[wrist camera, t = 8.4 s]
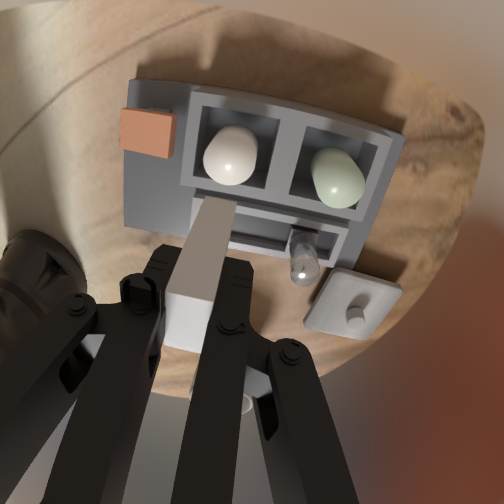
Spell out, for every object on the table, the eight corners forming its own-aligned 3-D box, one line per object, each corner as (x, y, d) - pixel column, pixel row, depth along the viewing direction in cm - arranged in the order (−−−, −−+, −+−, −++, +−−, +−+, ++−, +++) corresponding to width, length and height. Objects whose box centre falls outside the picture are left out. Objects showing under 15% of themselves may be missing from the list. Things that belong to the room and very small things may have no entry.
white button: (210, 162, 25) (200, 180, 22) (216, 120, 23) (206, 132, 20) (253, 170, 26) (250, 189, 22) (262, 128, 24) (260, 142, 20)
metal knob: (284, 245, 33) (285, 284, 28) (291, 222, 32) (294, 259, 27) (309, 250, 34) (315, 289, 28) (317, 228, 32) (325, 265, 27)
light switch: (331, 255, 36) (338, 283, 32) (399, 275, 37) (411, 302, 33) (300, 312, 41) (302, 342, 37) (363, 326, 43) (369, 354, 38)
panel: (129, 219, 35) (109, 246, 30) (135, 78, 25) (109, 85, 21) (349, 262, 36) (359, 293, 32) (400, 132, 27) (423, 149, 22)
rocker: (127, 145, 26) (119, 149, 25) (130, 105, 24) (121, 107, 23) (174, 155, 26) (167, 160, 25) (179, 112, 23) (172, 115, 22)
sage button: (305, 181, 26) (310, 202, 23) (316, 141, 24) (323, 156, 21) (345, 191, 26) (355, 213, 23) (358, 152, 24) (371, 169, 21)
